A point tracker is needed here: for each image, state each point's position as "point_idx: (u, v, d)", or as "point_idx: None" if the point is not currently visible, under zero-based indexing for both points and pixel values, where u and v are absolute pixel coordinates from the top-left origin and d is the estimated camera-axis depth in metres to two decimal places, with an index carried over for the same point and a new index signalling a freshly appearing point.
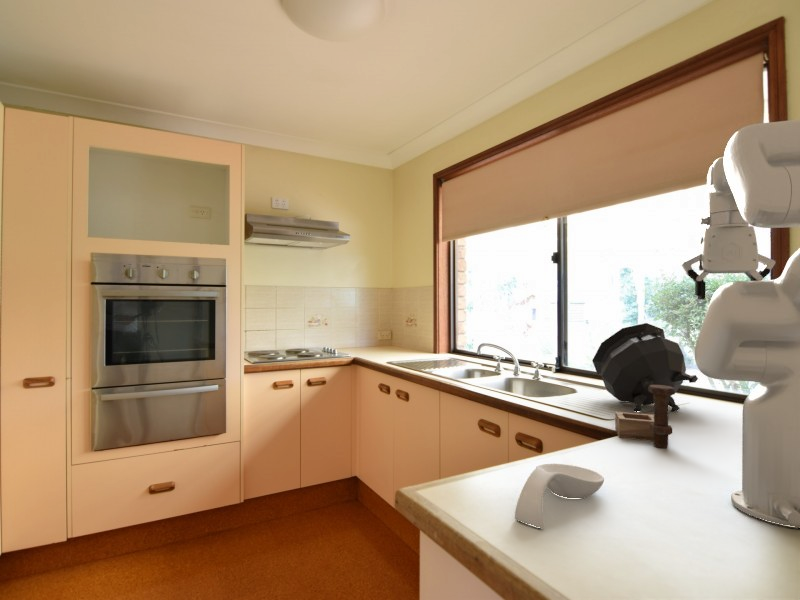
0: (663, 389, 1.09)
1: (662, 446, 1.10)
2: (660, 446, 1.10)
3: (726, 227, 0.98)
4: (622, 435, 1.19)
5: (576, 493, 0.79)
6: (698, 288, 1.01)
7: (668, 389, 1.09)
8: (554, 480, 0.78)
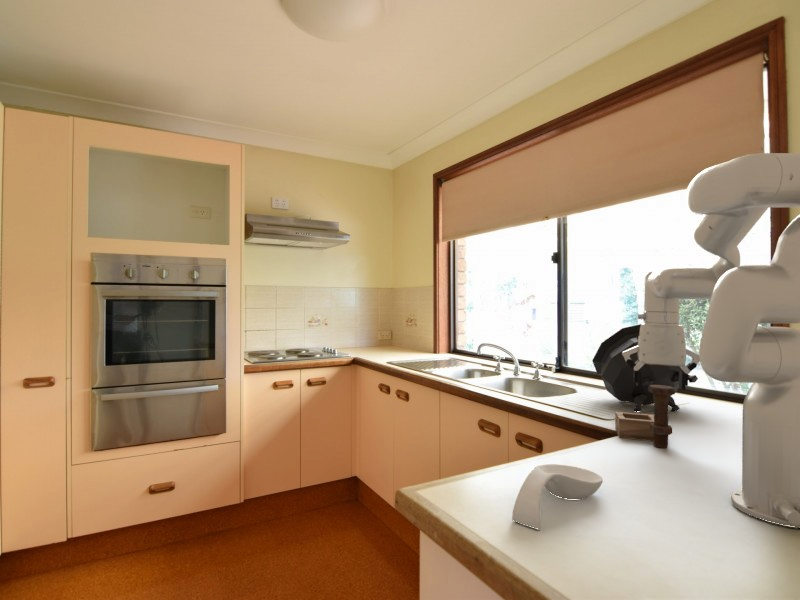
0: (663, 389, 1.09)
1: (662, 446, 1.10)
2: (660, 446, 1.10)
3: (659, 325, 1.10)
4: (622, 435, 1.19)
5: (574, 494, 0.79)
6: (635, 376, 1.13)
7: (668, 389, 1.09)
8: (552, 481, 0.77)
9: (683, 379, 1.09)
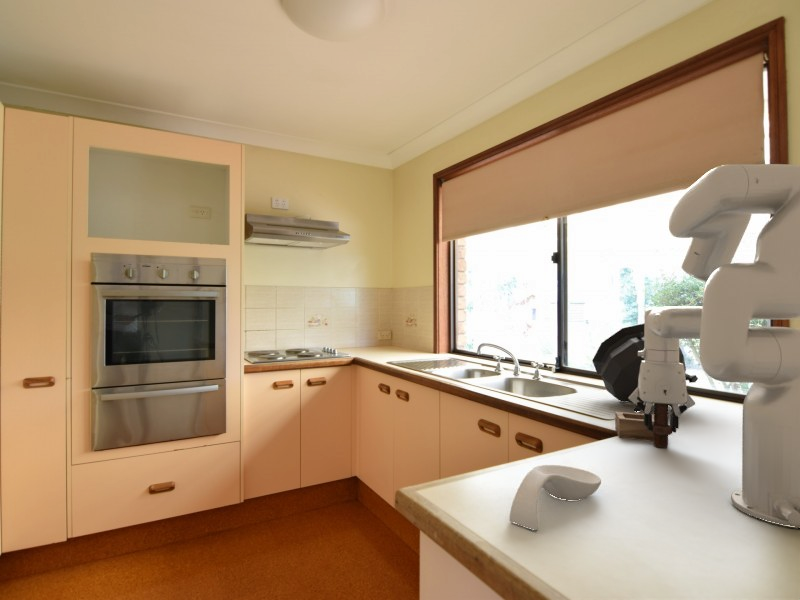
0: None
1: (662, 446, 1.10)
2: (660, 446, 1.10)
3: None
4: (622, 435, 1.19)
5: (573, 495, 0.78)
6: (646, 419, 1.12)
7: None
8: (549, 481, 0.77)
9: (674, 422, 1.09)
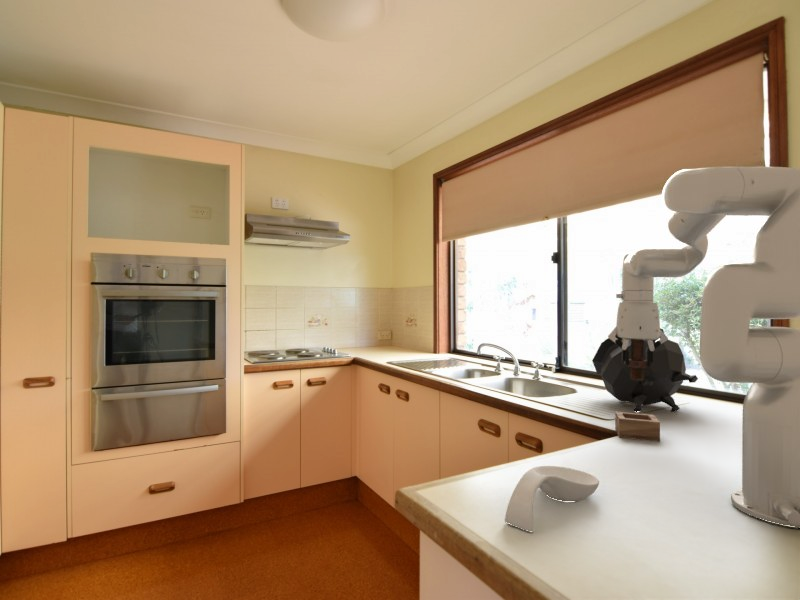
0: None
1: (638, 379, 1.20)
2: (636, 379, 1.20)
3: (635, 302, 1.19)
4: (622, 435, 1.19)
5: (570, 496, 0.78)
6: (623, 355, 1.22)
7: None
8: (546, 482, 0.76)
9: (648, 356, 1.19)
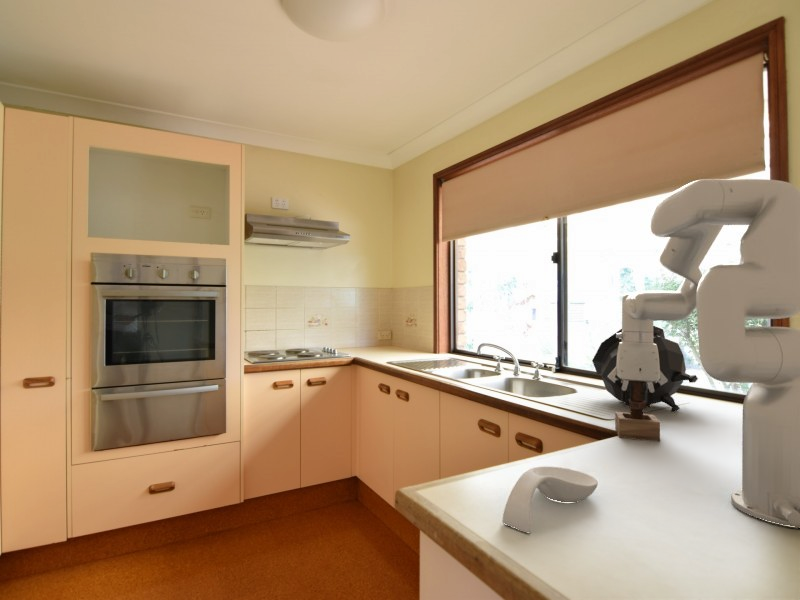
0: None
1: None
2: None
3: (635, 344, 1.19)
4: (622, 435, 1.19)
5: (568, 497, 0.77)
6: (623, 396, 1.22)
7: None
8: (544, 483, 0.76)
9: (648, 397, 1.19)
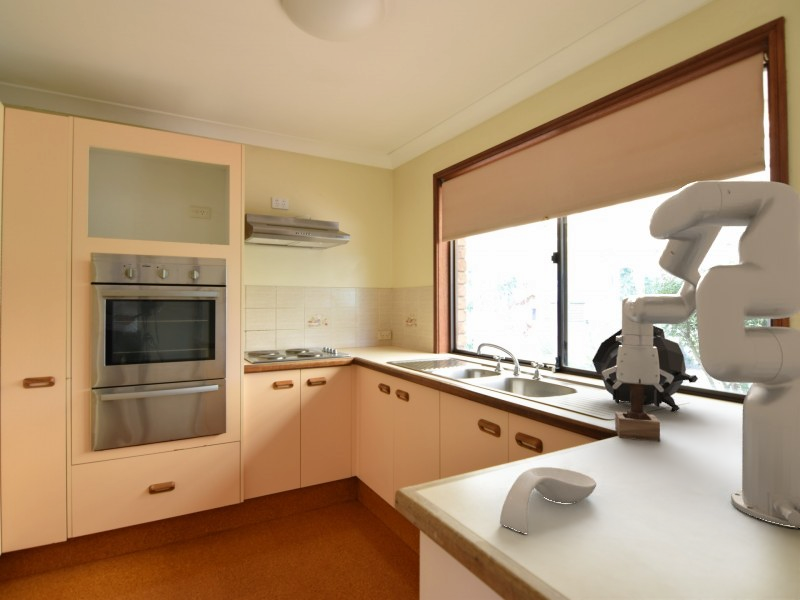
0: None
1: None
2: None
3: (635, 347, 1.19)
4: (622, 435, 1.19)
5: (566, 498, 0.77)
6: (614, 394, 1.22)
7: None
8: (542, 484, 0.76)
9: (657, 397, 1.18)
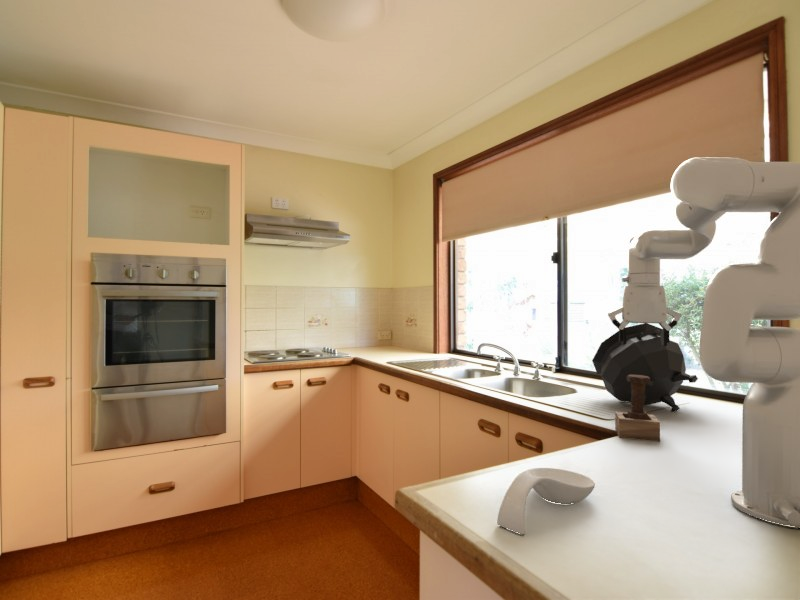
0: (639, 378, 1.19)
1: None
2: None
3: (641, 286, 1.18)
4: (622, 435, 1.19)
5: (564, 499, 0.77)
6: (620, 335, 1.21)
7: (644, 378, 1.19)
8: (540, 485, 0.75)
9: (665, 336, 1.17)
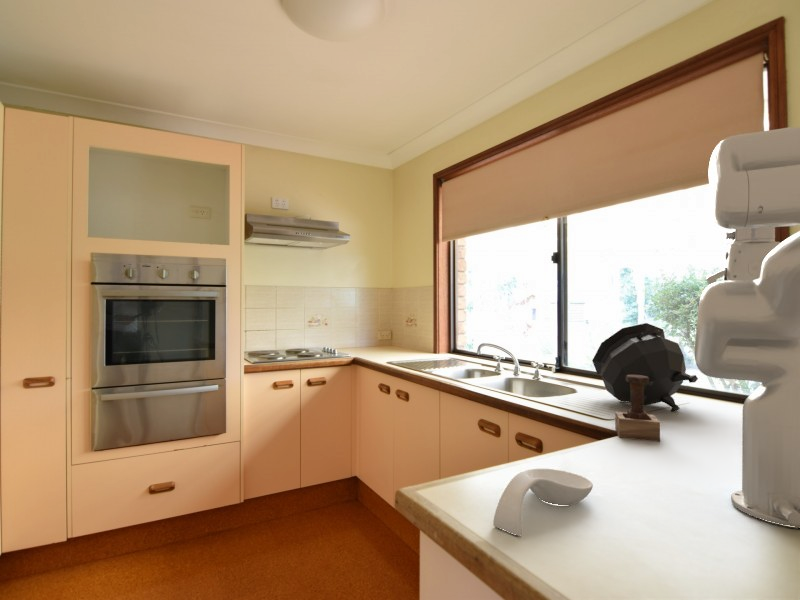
0: (638, 378, 1.19)
1: None
2: None
3: (752, 242, 0.97)
4: (622, 435, 1.19)
5: (562, 500, 0.76)
6: None
7: (643, 378, 1.19)
8: (537, 486, 0.75)
9: None
